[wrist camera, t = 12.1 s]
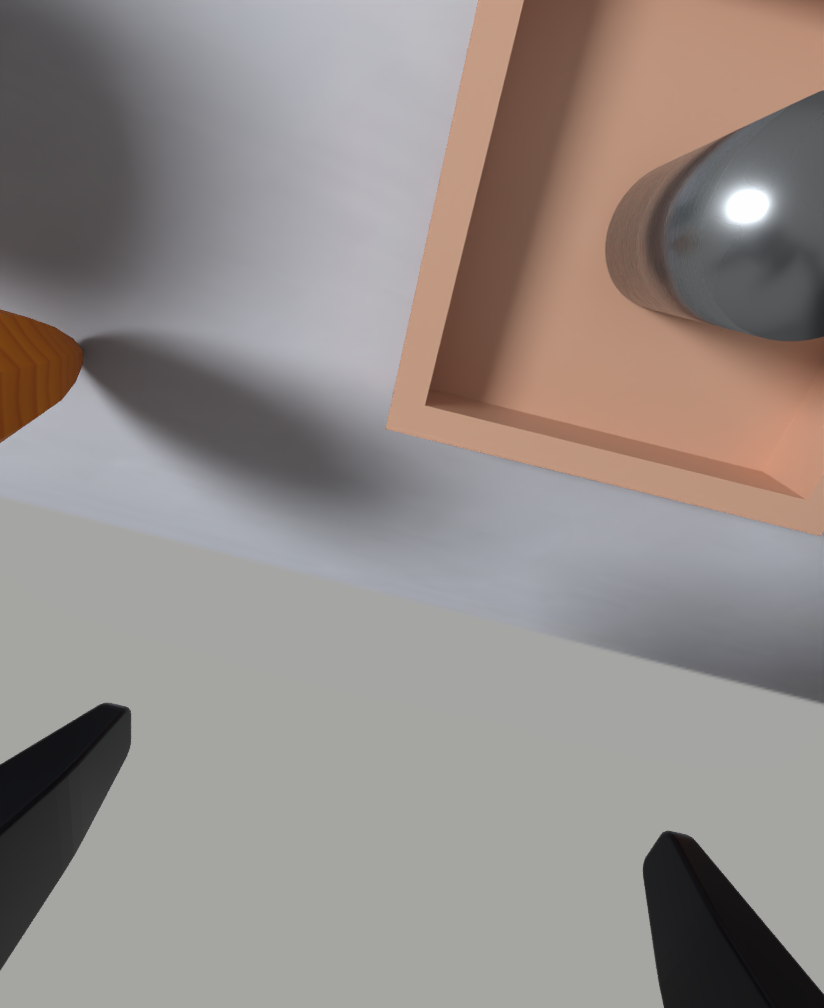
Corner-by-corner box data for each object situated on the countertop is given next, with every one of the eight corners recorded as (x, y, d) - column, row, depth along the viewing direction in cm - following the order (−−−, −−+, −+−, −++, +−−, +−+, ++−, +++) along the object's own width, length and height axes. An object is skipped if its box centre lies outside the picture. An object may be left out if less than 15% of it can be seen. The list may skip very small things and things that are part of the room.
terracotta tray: (1024, 20, 14) (1196, -57, 11) (761, 493, 20) (820, 535, 16) (512, -121, 13) (530, -243, 10) (397, 403, 19) (385, 428, 16)
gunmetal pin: (773, 175, 15) (1011, 111, 8) (710, 322, 16) (868, 361, 10) (634, 145, 15) (768, 56, 8) (586, 294, 16) (666, 317, 10)
